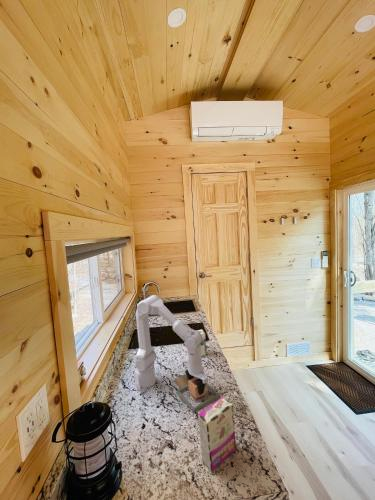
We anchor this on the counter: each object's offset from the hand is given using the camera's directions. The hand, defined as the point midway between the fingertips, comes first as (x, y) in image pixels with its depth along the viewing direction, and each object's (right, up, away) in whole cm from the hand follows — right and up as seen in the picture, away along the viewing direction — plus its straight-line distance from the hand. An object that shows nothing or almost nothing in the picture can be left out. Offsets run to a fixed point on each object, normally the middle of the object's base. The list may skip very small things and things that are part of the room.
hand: (197, 389), depth 101 cm
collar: (0, -1, 0) cm, 1 cm away
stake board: (-5, -3, +11) cm, 13 cm away
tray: (0, -4, 0) cm, 4 cm away
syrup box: (+3, 0, +33) cm, 33 cm away
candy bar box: (+6, -6, -25) cm, 27 cm away
